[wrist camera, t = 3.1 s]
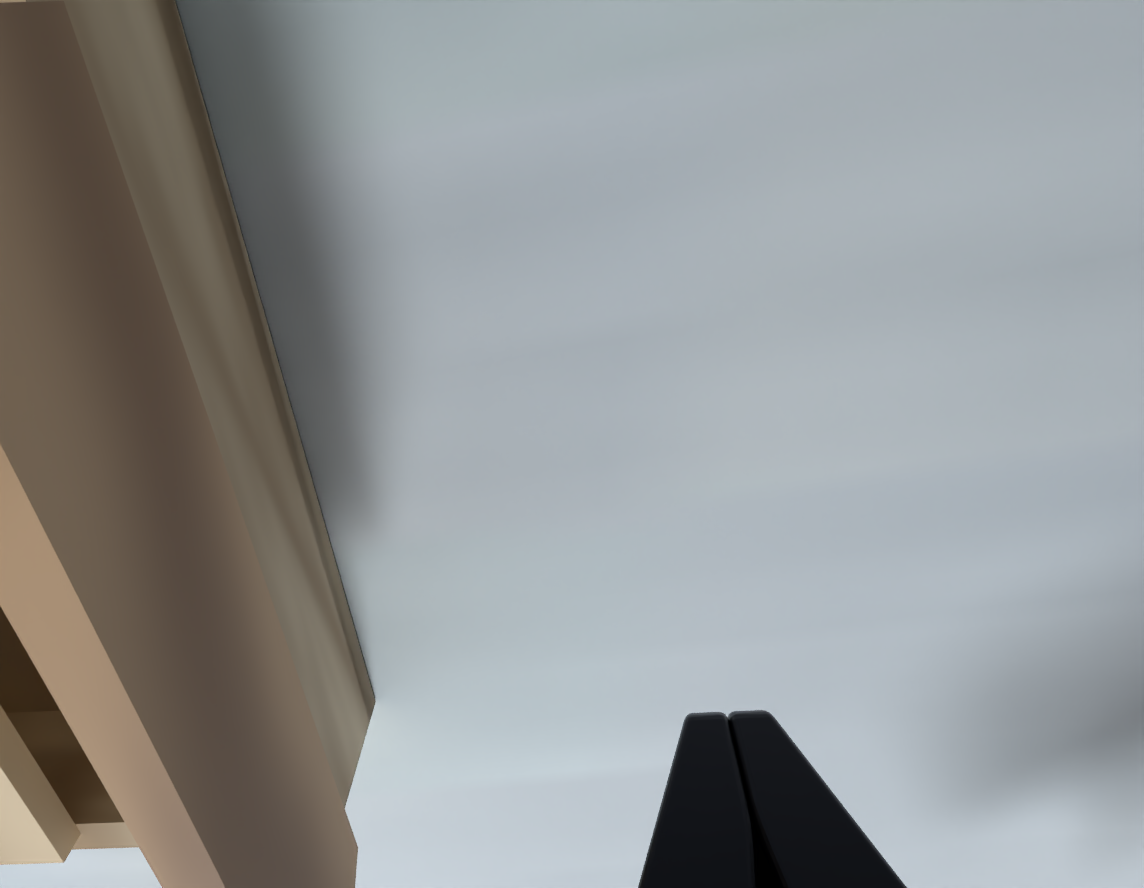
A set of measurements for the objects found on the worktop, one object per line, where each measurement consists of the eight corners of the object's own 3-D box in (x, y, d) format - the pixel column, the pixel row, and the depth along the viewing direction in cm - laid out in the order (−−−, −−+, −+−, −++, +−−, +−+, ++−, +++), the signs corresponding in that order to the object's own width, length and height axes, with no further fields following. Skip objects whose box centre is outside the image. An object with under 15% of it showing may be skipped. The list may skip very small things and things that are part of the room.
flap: (0, 7, 8) (62, 0, 8) (326, 853, 15) (357, 847, 15) (-338, 18, 4) (-222, 8, 4) (295, 1118, 11) (337, 1108, 12)
